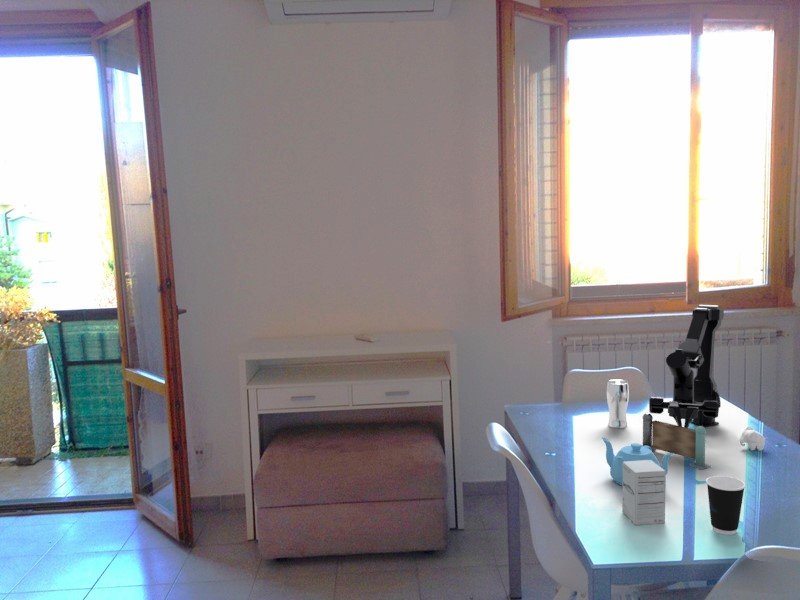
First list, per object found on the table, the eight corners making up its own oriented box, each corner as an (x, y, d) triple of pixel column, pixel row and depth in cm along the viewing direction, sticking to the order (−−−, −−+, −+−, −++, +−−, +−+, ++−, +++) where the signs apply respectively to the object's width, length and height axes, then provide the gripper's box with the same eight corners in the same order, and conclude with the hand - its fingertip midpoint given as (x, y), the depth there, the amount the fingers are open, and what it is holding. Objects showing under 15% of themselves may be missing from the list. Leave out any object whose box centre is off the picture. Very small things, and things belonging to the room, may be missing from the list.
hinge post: (647, 445, 208) (647, 410, 207) (660, 450, 203) (660, 414, 202) (634, 448, 206) (635, 412, 205) (647, 453, 201) (647, 416, 200)
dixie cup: (696, 527, 153) (697, 480, 152) (720, 519, 157) (721, 473, 155) (728, 541, 146) (729, 492, 145) (752, 532, 150) (753, 484, 149)
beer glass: (626, 422, 231) (626, 379, 229) (630, 429, 224) (631, 384, 222) (604, 422, 232) (604, 379, 230) (609, 429, 225) (609, 384, 223)
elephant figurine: (735, 444, 206) (735, 425, 205) (764, 445, 204) (764, 426, 204) (741, 452, 199) (742, 432, 199) (771, 453, 198) (772, 433, 197)
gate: (651, 448, 202) (651, 420, 201) (655, 447, 204) (655, 418, 202) (701, 462, 190) (702, 431, 189) (705, 460, 191) (706, 430, 190)
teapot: (655, 471, 187) (655, 435, 186) (675, 493, 172) (676, 453, 171) (601, 472, 188) (601, 436, 186) (617, 494, 173) (617, 454, 172)
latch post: (699, 462, 192) (700, 423, 191) (711, 467, 189) (711, 427, 187) (688, 465, 191) (689, 425, 189) (700, 469, 187) (701, 429, 186)
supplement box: (621, 512, 162) (621, 460, 161) (651, 510, 163) (652, 458, 161) (634, 526, 155) (634, 472, 153) (666, 523, 155) (666, 470, 154)
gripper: (716, 401, 207) (717, 448, 199) (650, 396, 214) (649, 442, 206) (718, 382, 199) (719, 431, 190) (650, 378, 206) (648, 425, 197)
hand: (683, 433), depth 196 cm, fingers closed
